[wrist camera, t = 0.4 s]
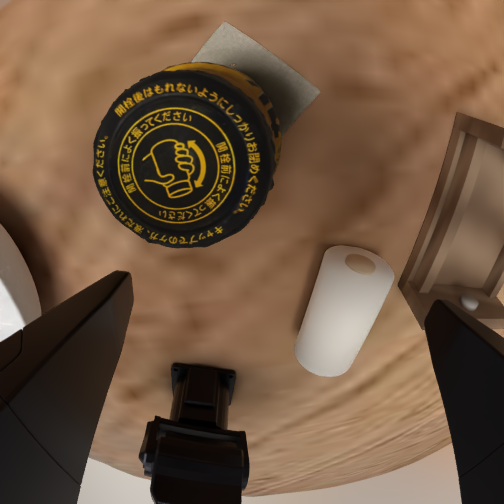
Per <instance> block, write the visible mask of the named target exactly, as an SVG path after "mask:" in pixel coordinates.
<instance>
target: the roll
mask: <svg viewBox="0 0 504 504" xmlns="http://www.w3.org/2000/svg"><path fill="white" fill-rule="evenodd" d="M393 281H394V272H393V270H392V268H391V267H390V266H389V264H388V263H387V262H385V261H384V260H383V259H382V258H380V257H379V256H377V255H376V254H374V253H372V252H370V251H367V250H365V249H362V248H358V247H351V246H344V245H338V246H333V247H331V248H329V249H327V250H326V252H325V253H324V257H323V260H322V263H321V267H320V270H319V273H318V276H317V279H316V283H315V286H314V289H313V292H312V295H311V298H310V301H309V304H308V307H307V310H306V313H305V316H304V319H303V322H302V325H301V328H300V331H299V334H298V337H297V340H296V342H295V345H294V353H295V356H296V358H297V360H298V362H299V363H300V364H301V365H302V366H303V367H304V368H305V369H306V370H308V371H310V372H311V373H314V374H316V375H319V376H324V377H335V376H339V375H341V374H343V373H345V372H346V371H347V370H348V369H349V368H350V366H351V365H352V363H353V361H354V359H355V357H356V356H357V354H358V352H359V350H360V348H361V346H362V344H363V343H364V341H365V339H366V337H367V335H368V333H369V331H370V329H371V327H372V325H373V323H374V321H375V319H376V317H377V315H378V313H379V311H380V309H381V307H382V305H383V303H384V301H385V299H386V296H387V294H388V292H389V290H390V288H391V286H392V283H393Z"/></svg>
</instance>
